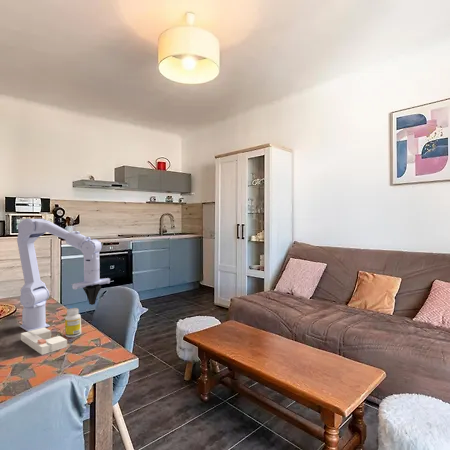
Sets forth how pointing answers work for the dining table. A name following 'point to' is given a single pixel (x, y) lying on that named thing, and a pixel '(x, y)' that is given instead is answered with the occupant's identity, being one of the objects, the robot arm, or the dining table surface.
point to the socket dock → (43, 341)
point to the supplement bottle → (73, 323)
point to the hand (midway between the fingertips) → (92, 304)
